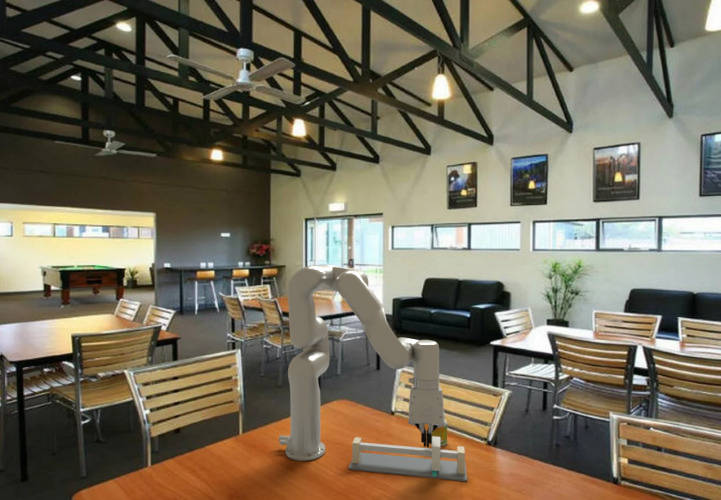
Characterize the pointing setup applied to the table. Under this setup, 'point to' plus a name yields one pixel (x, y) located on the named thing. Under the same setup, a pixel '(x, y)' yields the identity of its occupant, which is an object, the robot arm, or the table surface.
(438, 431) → the supplement bottle
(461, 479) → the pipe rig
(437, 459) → the white block
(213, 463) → the table surface
